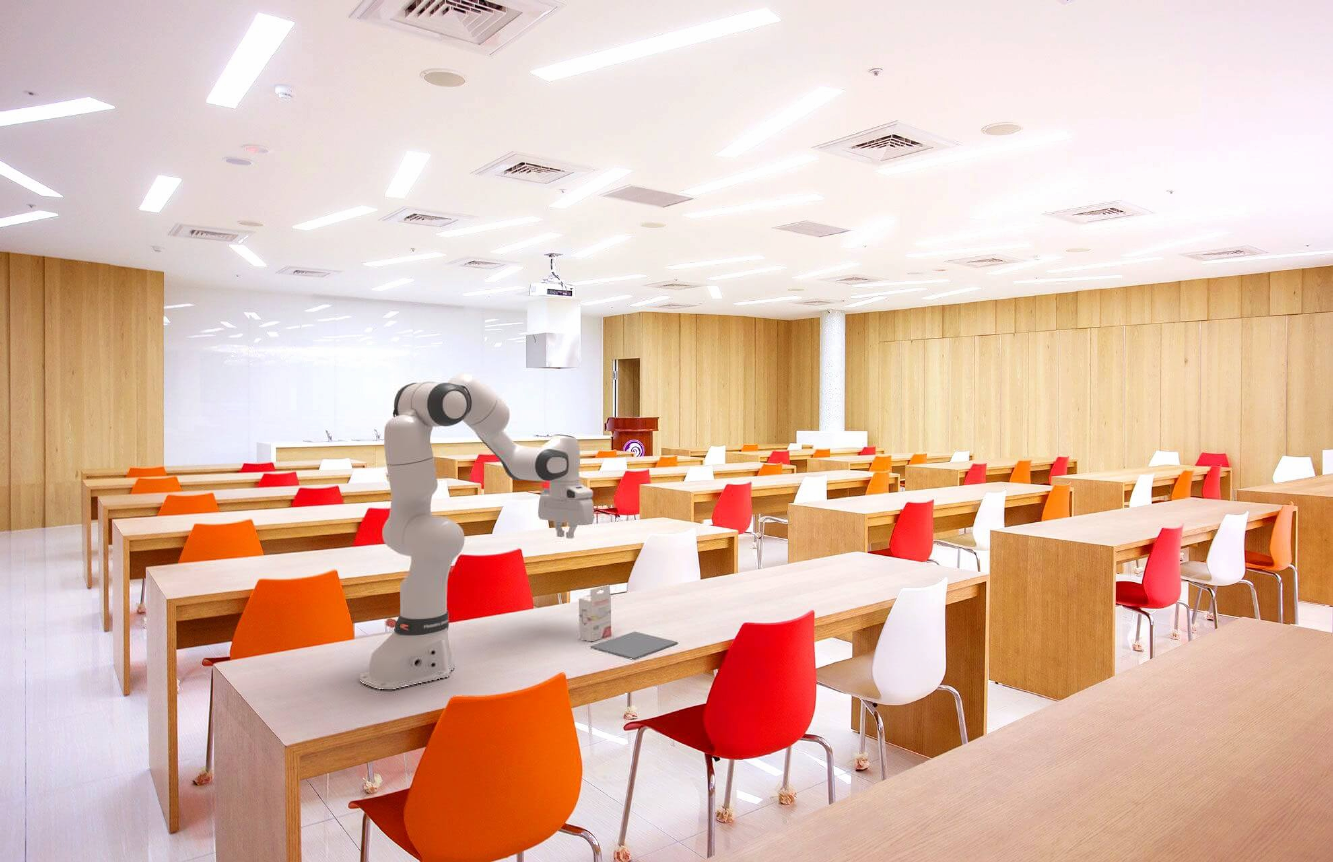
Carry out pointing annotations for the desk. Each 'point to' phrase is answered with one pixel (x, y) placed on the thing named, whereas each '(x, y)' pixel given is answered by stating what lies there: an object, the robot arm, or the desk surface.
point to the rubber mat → (634, 645)
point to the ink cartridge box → (595, 614)
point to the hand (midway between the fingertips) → (565, 537)
